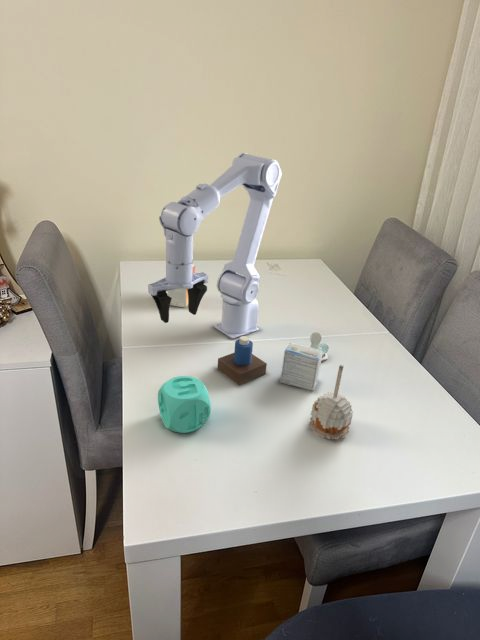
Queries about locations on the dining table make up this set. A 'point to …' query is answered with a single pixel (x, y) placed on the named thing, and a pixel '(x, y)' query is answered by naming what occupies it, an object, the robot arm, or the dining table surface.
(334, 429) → the caramel apple
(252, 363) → the walnut block
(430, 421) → the dining table surface
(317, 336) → the pacifier
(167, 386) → the decorative dice
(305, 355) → the medicine box
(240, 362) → the blue bottle
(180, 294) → the small box
